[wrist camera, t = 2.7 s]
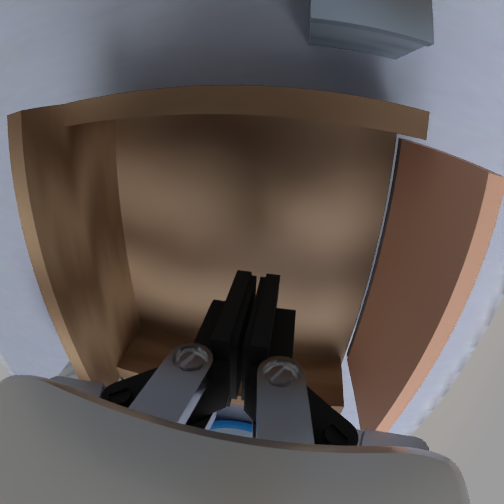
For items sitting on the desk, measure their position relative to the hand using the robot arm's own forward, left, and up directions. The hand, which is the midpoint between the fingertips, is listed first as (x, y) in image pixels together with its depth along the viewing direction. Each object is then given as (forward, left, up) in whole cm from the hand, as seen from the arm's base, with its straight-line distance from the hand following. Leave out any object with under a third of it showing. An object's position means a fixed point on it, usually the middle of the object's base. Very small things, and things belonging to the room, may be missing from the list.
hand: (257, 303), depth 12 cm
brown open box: (0, -2, -6) cm, 7 cm away
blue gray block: (-15, +4, -6) cm, 16 cm away
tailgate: (0, +6, -4) cm, 7 cm away
